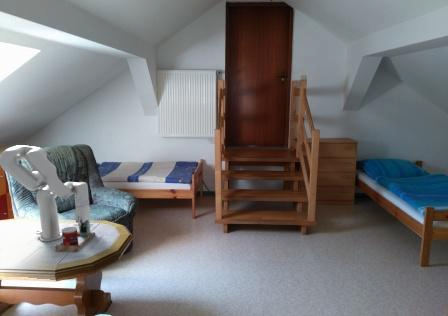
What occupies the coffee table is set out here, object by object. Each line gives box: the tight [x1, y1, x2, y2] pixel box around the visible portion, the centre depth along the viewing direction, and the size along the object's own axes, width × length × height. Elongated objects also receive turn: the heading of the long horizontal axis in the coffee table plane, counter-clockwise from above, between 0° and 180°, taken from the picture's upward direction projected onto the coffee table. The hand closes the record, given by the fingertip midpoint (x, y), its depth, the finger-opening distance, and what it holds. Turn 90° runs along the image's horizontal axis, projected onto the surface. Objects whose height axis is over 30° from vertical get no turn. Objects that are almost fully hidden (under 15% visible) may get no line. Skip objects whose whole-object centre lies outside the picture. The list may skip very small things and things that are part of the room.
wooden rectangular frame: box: [54, 220, 96, 253], centre depth 204 cm, size 12×23×9 cm, turn 174°
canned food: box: [61, 226, 79, 246], centre depth 198 cm, size 8×8×11 cm
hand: (84, 231), depth 214 cm, fingers closed on wooden rectangular frame, 2 cm apart
